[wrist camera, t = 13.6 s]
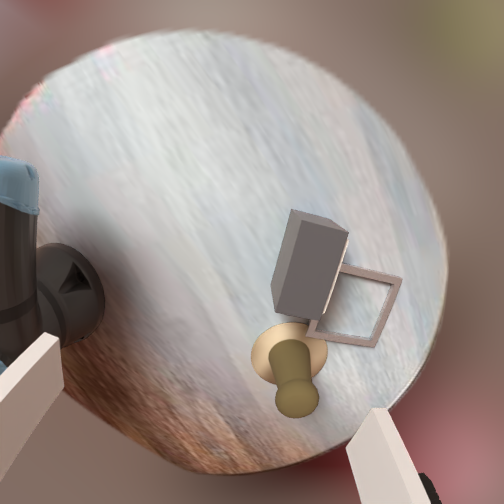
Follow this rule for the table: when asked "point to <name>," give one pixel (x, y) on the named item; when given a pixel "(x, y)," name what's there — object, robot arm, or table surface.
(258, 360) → the tan round coaster
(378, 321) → the taupe square frame
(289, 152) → the table surface
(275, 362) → the pepper shaker
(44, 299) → the robot arm
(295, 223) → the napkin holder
